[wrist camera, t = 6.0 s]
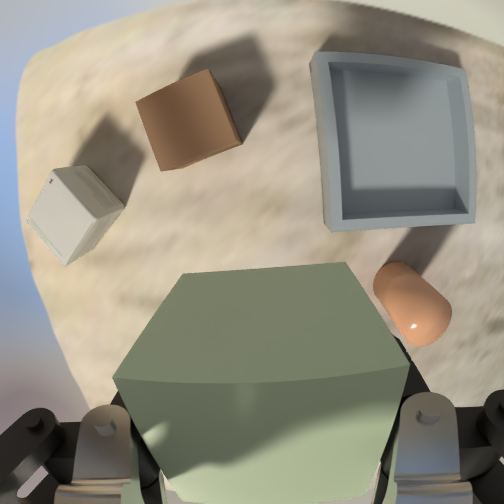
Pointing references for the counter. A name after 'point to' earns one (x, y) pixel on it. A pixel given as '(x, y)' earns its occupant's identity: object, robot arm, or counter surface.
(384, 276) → the peach capsule
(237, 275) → the green block
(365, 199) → the tray
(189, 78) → the walnut cube
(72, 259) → the small box
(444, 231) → the counter surface
